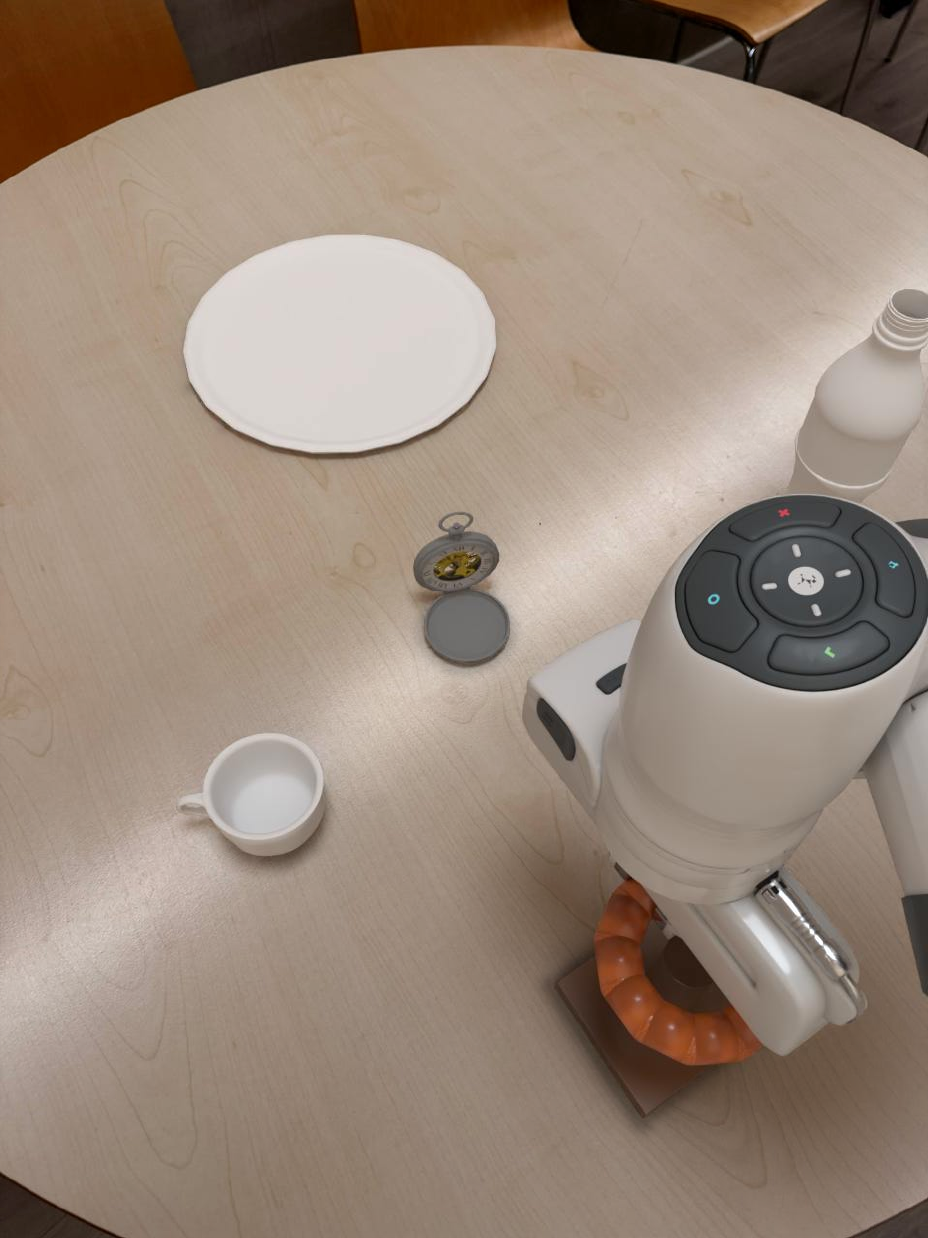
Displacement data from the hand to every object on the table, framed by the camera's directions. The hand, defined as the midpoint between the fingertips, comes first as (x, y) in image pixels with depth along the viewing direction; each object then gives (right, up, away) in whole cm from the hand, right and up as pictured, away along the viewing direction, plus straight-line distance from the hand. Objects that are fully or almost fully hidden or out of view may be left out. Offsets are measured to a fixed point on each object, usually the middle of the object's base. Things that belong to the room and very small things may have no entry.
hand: (649, 891), depth 55 cm
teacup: (-24, +1, +16) cm, 29 cm away
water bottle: (+18, +21, +29) cm, 40 cm away
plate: (-21, +41, +42) cm, 62 cm away
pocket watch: (-10, +15, +25) cm, 31 cm away
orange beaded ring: (+2, -3, -1) cm, 4 cm away
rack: (+2, -10, +10) cm, 14 cm away
